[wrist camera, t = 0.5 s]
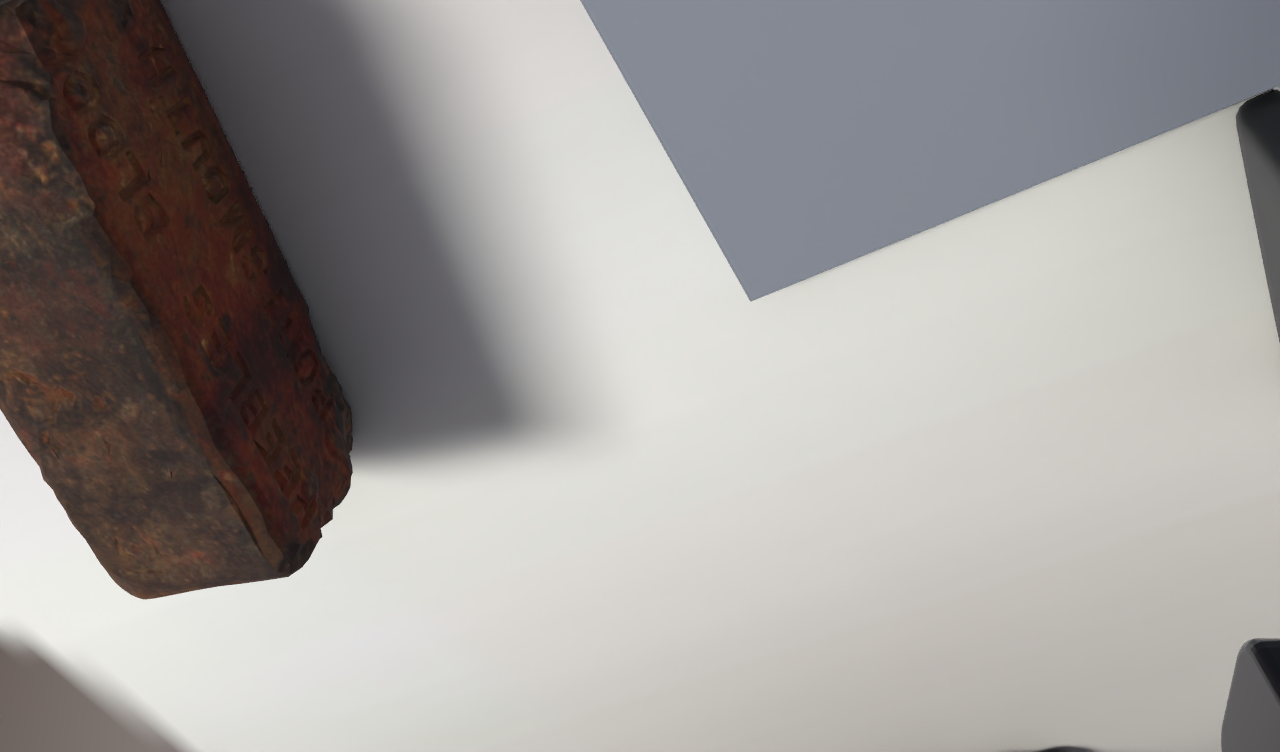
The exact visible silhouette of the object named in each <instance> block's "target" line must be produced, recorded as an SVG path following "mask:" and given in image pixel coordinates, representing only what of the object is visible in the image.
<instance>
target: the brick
mask: <svg viewBox="0 0 1280 752" xmlns="http://www.w3.org/2000/svg"><path fill="white" fill-rule="evenodd" d="M0 409H1V411H2V412H3V414H4V416H5V417H6V419H7V420H8V422H9V423H10V425H11V427H12V428H13V430H14V431H15V433H16V435H17V436H18V438H19V439H20V440H21V442H22V443H23V445H24V446H25V448H26V449H27V450H28V452H29V453H30V455H31V456H32V457H33V459H34V460H35V461H36V463H37V464H38V465H39V466H40V469H41V473H42V476H43V479H44V481H45V482H46V483H47V484H48V485H49V486H50V487H51V488H52V489H53V491H54V493H55V495H56V497H57V499H58V500H59V502H60V503H61V505H62V506H63V508H64V509H65V511H66V513H67V515H68V517H69V519H70V521H71V522H72V524H73V525H74V526H75V528H76V529H77V530H78V531H79V532H80V534H81V535H82V536H83V537H84V538H85V540H86V541H87V543H88V544H89V546H90V547H91V549H92V551H93V552H94V554H95V555H96V557H97V559H98V560H99V562H100V563H101V565H102V566H103V567H104V568H105V570H106V571H107V572H108V574H109V575H110V577H111V578H112V579H113V580H114V581H115V582H116V584H118V585H119V586H120V587H121V588H122V589H124V590H125V591H127V592H128V593H129V594H131V595H133V596H135V597H138V598H141V599H152V598H158V597H164V596H169V595H174V594H179V593H184V592H189V591H194V590H200V589H205V588H211V587H217V586H225V585H233V584H241V583H249V582H257V581H264V580H270V579H277V578H283V577H289V576H290V575H292V574H293V573H294V572H296V571H297V570H299V569H300V568H302V567H303V565H304V564H305V563H306V562H307V561H308V559H309V558H310V556H311V554H312V552H313V550H314V548H315V546H316V544H317V543H318V541H319V539H320V538H322V533H321V529H320V528H322V527H323V526H324V525H326V524H327V523H328V522H329V521H331V520H332V519H333V509H334V508H335V507H336V506H338V505H339V504H340V503H341V502H342V500H343V499H344V498H345V496H346V495H347V493H348V491H349V489H350V484H351V475H352V473H353V471H352V464H351V460H350V455H349V452H350V451H351V450H352V443H353V438H352V435H351V432H352V415H351V410H350V406H349V405H348V403H347V401H346V400H345V399H344V397H343V396H342V390H341V386H340V385H339V383H338V381H337V379H336V377H335V376H334V375H333V373H332V372H331V370H330V368H329V366H328V364H327V362H326V360H325V359H324V357H323V356H322V354H321V351H320V347H319V343H318V341H317V338H316V336H315V333H314V330H313V328H312V324H311V321H310V318H309V312H308V306H307V304H306V302H305V300H304V299H303V297H302V295H301V293H300V291H299V289H298V287H297V286H296V284H295V282H294V280H293V278H292V276H291V274H290V271H289V268H288V266H287V263H286V261H285V259H284V258H283V256H282V254H281V252H280V250H279V248H278V246H277V244H276V241H275V239H274V236H273V233H272V231H271V229H270V227H269V225H268V223H267V221H266V219H265V217H264V215H263V213H262V212H261V210H260V208H259V206H258V204H257V202H256V200H255V198H254V196H253V193H252V191H251V189H250V187H249V185H248V183H247V180H246V178H245V176H244V174H243V172H242V170H241V168H240V165H239V163H238V161H237V159H236V157H235V155H234V153H233V151H232V149H231V147H230V145H229V143H228V141H227V139H226V137H225V135H224V133H223V131H222V129H221V126H220V124H219V122H218V120H217V118H216V116H215V114H214V111H213V109H212V107H211V105H210V103H209V101H208V99H207V96H206V94H205V92H204V90H203V88H202V86H201V84H200V81H199V80H198V78H197V76H196V74H195V72H194V70H193V68H192V67H191V65H190V63H189V61H188V59H187V57H186V55H185V53H184V50H183V48H182V46H181V44H180V42H179V40H178V38H177V36H176V34H175V31H174V29H173V27H172V25H171V23H170V21H169V19H168V17H167V15H166V13H165V11H164V9H163V6H162V4H161V2H160V0H0Z"/></svg>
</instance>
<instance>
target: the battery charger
mask: <svg viewBox="0 0 1280 752" xmlns="http://www.w3.org/2000/svg"><path fill="white" fill-rule="evenodd" d="M1236 125H1237V131H1238V136H1239V141H1240V146H1241V152H1242V157H1243V162H1244V167H1245V172H1246V178H1247V183H1248V188H1249V193H1250V198H1251V203H1252V208H1253V213H1254V218H1255V223H1256V228H1257V233H1258V238H1259V243H1260V248H1261V253H1262V258H1263V263H1264V268H1265V273H1266V278H1267V283H1268V288H1269V293H1270V298H1271V303H1272V307H1273V312H1274V317H1275V322H1276V327H1277V332H1278V337H1279V341H1280V86H1277V87H1275V88H1274V90H1273V91H1270V92H1267V93H1264V94H1261V95H1258V96H1256V97H1254V98H1252V99H1250V100H1248V101H1246V102H1245V103H1244V104H1243V105H1242V106H1241V107H1240V108H1239V110H1238V113H1237V115H1236Z"/></svg>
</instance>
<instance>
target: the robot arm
mask: <svg viewBox="0 0 1280 752" xmlns="http://www.w3.org/2000/svg"><path fill="white" fill-rule="evenodd" d="M1221 747H1222V752H1280V639H1260V638H1257V639H1252V640H1249V641H1247V642H1246V643H1244V644H1243V646H1242V647H1241V649H1240V651H1239V653H1238V657H1237V661H1236V665H1235V670H1234V674H1233V679H1232V683H1231V688H1230V692H1229V697H1228V702H1227V706H1226V711H1225V715H1224V720H1223V725H1222V733H1221Z"/></svg>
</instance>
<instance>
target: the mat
mask: <svg viewBox="0 0 1280 752" xmlns="http://www.w3.org/2000/svg"><path fill="white" fill-rule="evenodd" d="M581 2H582V4H583V6H584V8H585V9H586V11H587V13H588V15H589V16H590V18H591V20H592V22H593V23H594V25H595V27H596V29H597V31H598V32H599V34H600V36H601V38H602V39H603V41H604V43H605V45H606V46H607V48H608V50H609V52H610V54H611V55H612V57H613V59H614V61H615V62H616V64H617V66H618V68H619V69H620V71H621V73H622V75H623V77H624V78H625V80H626V82H627V84H628V85H629V87H630V89H631V91H632V92H633V94H634V96H635V98H636V100H637V101H638V103H639V105H640V107H641V108H642V110H643V112H644V114H645V116H646V117H647V119H648V121H649V123H650V124H651V126H652V128H653V130H654V131H655V133H656V135H657V137H658V139H659V140H660V142H661V144H662V146H663V147H664V149H665V151H666V153H667V154H668V156H669V158H670V160H671V162H672V163H673V165H674V167H675V169H676V170H677V172H678V174H679V176H680V177H681V179H682V181H683V183H684V185H685V186H686V188H687V190H688V192H689V193H690V195H691V197H692V199H693V200H694V202H695V204H696V206H697V208H698V209H699V211H700V213H701V215H702V216H703V218H704V220H705V222H706V223H707V225H708V227H709V229H710V231H711V232H712V234H713V236H714V238H715V239H716V241H717V243H718V245H719V247H720V248H721V250H722V252H723V254H724V255H725V257H726V259H727V261H728V262H729V264H730V266H731V268H732V270H733V271H734V273H735V275H736V277H737V278H738V280H739V282H740V284H741V285H742V287H743V289H744V291H745V293H746V294H747V296H748V298H749V300H750V301H753V300H756V299H758V298H761V297H763V296H765V295H768V294H770V293H773V292H775V291H778V290H780V289H783V288H785V287H788V286H790V285H792V284H795V283H797V282H800V281H802V280H805V279H807V278H810V277H812V276H814V275H817V274H819V273H822V272H824V271H827V270H829V269H832V268H834V267H836V266H839V265H841V264H844V263H846V262H849V261H851V260H854V259H856V258H859V257H861V256H863V255H866V254H868V253H871V252H873V251H876V250H878V249H881V248H883V247H885V246H888V245H890V244H893V243H895V242H898V241H900V240H903V239H905V238H908V237H910V236H912V235H915V234H917V233H920V232H922V231H925V230H927V229H930V228H932V227H934V226H937V225H939V224H942V223H944V222H947V221H949V220H952V219H954V218H956V217H959V216H961V215H964V214H966V213H969V212H971V211H974V210H976V209H979V208H981V207H983V206H986V205H988V204H991V203H993V202H996V201H998V200H1001V199H1003V198H1005V197H1008V196H1010V195H1013V194H1015V193H1018V192H1020V191H1023V190H1025V189H1028V188H1030V187H1032V186H1035V185H1037V184H1040V183H1042V182H1045V181H1047V180H1050V179H1052V178H1054V177H1057V176H1059V175H1062V174H1064V173H1067V172H1069V171H1072V170H1074V169H1077V168H1079V167H1081V166H1084V165H1086V164H1089V163H1091V162H1094V161H1096V160H1099V159H1101V158H1103V157H1106V156H1108V155H1111V154H1113V153H1116V152H1118V151H1121V150H1123V149H1125V148H1128V147H1130V146H1133V145H1135V144H1138V143H1140V142H1143V141H1145V140H1148V139H1150V138H1152V137H1155V136H1157V135H1160V134H1162V133H1165V132H1167V131H1170V130H1172V129H1174V128H1177V127H1179V126H1182V125H1184V124H1187V123H1189V122H1192V121H1194V120H1197V119H1199V118H1201V117H1204V116H1206V115H1209V114H1211V113H1214V112H1216V111H1219V110H1221V109H1223V108H1226V107H1228V106H1231V105H1233V104H1236V103H1238V102H1241V101H1243V100H1245V99H1248V98H1250V97H1253V96H1255V95H1258V94H1260V93H1263V92H1265V91H1268V90H1270V89H1272V88H1275V87H1277V86H1280V0H581Z"/></svg>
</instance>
